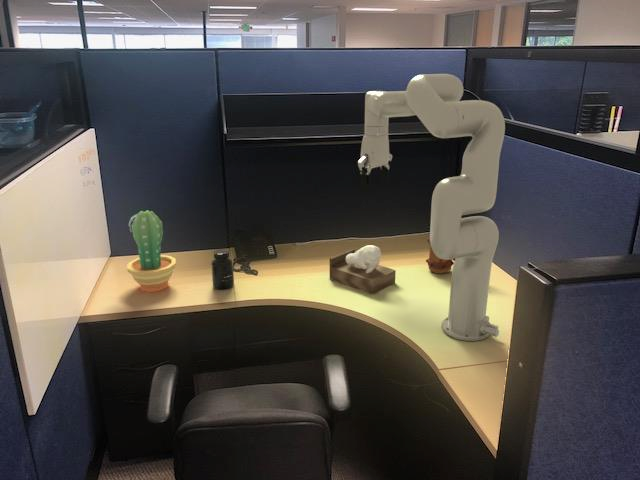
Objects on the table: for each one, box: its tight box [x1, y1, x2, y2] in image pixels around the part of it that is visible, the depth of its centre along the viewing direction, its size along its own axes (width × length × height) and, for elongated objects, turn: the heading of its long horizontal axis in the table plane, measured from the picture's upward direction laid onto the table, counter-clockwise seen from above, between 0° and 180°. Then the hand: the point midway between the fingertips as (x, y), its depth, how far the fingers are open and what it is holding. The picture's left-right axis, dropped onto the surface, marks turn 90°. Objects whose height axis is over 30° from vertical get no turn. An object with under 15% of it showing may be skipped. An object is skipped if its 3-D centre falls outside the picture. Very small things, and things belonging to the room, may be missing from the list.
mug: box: [425, 238, 455, 274], centre depth 174 cm, size 15×8×15 cm, turn 62°
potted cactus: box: [126, 209, 177, 293], centre depth 164 cm, size 15×15×25 cm
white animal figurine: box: [346, 244, 382, 274], centre depth 167 cm, size 6×8×12 cm
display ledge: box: [329, 248, 397, 295], centre depth 169 cm, size 18×12×8 cm, turn 47°
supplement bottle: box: [210, 248, 235, 291], centre depth 165 cm, size 7×7×12 cm
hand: (374, 183), depth 170 cm, fingers open, 9 cm apart
